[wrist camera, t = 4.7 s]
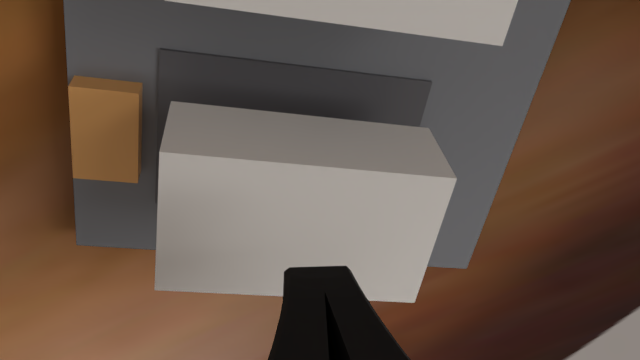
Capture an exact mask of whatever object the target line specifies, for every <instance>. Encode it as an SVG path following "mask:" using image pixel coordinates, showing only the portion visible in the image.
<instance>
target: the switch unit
mask: <svg viewBox="0 0 640 360" xmlns="http://www.w3.org/2000/svg"><path fill="white" fill-rule="evenodd" d="M570 1H571V0H518V2H517V5H516V8H515V11H514V14H513V17H512V20H511V23H510V26H509V29H508V31H507V34H506V37H505V40H504V43H503V46H498V45H490V44H483V43H475V42H468V41H460V40H453V39H446V38H438V37H431V36H423V35H416V34H409V33H401V32H394V31H386V30H379V29H371V28H364V27H357V26H349V25H342V24H334V23H327V22H320V21H312V20H305V19H297V18H290V17H282V16H275V15H268V14H260V13H253V12H245V11H238V10H231V9H223V8H216V7H208V6H201V5H193V4H186V3H179V2H171V1H165V0H63V2H64V21H65V39H66V58H67V76H68V95H69V113H70V132H71V150H72V169H73V187H74V206H75V224H76V243H77V245H84V246H100V247H117V248H133V249H150V250H156V235H157V206H158V177H159V151H160V147H161V142H162V138H163V134H164V129H165V125H166V120H167V116H168V112H169V107H170V103H171V101H176V102H186V103H195V104H205V105H214V106H224V107H233V108H243V109H252V110H262V111H271V112H281V113H290V114H300V115H309V116H319V117H328V118H338V119H347V120H357V121H366V122H376V123H385V124H395V125H404V126H414V127H423V128H429V129H430V131H431V133H432V135H433V136H434V138H435V140H436V142H437V144H438V145H439V147H440V149H441V151H442V153H443V154H444V156H445V158H446V160H447V162H448V163H449V165H450V167H451V169H452V170H453V172H454V174H455V176H456V178H457V180H456V183H455V186H454V189H453V192H452V195H451V198H450V201H449V204H448V206H447V209H446V212H445V215H444V218H443V221H442V224H441V227H440V230H439V233H438V236H437V239H436V241H435V244H434V247H433V250H432V253H431V256H430V259H429V262H428V265H427V266H430V267H447V268H463V269H467V266H468V263H469V261H470V258H471V256H472V253H473V251H474V248H475V245H476V243H477V240H478V238H479V235H480V233H481V230H482V227H483V225H484V222H485V220H486V217H487V215H488V212H489V209H490V207H491V204H492V202H493V199H494V197H495V194H496V191H497V189H498V186H499V184H500V181H501V179H502V176H503V173H504V171H505V168H506V166H507V163H508V161H509V158H510V155H511V153H512V150H513V148H514V145H515V143H516V140H517V137H518V135H519V132H520V130H521V127H522V125H523V122H524V119H525V117H526V114H527V112H528V109H529V107H530V104H531V101H532V99H533V96H534V94H535V91H536V89H537V86H538V83H539V81H540V78H541V76H542V73H543V71H544V68H545V65H546V63H547V60H548V58H549V55H550V53H551V50H552V47H553V45H554V42H555V40H556V37H557V35H558V32H559V29H560V27H561V24H562V22H563V19H564V17H565V14H566V11H567V9H568V6H569V4H570Z"/></svg>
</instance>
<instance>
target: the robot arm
mask: <svg viewBox="0 0 640 360" xmlns="http://www.w3.org/2000/svg"><path fill="white" fill-rule="evenodd" d="M268 360H410V358H409V357H408V356H407V355H406V353H405V352H404V351H403V350H402V348H401V347H400V346H399V344H398V343H397V342H396V340H395V339H394V337H393V336H392V335H391V333H390V332H389V331H388V329H387V328H386V326H385V325H384V324H383V322H382V321H381V319H380V318H379V316H378V315H377V313H376V312H375V310H374V309H373V307H372V306H371V304H370V302H369V301H368V299H367V298H366V296H365V295H364V293H363V291H362V290H361V288H360V286H359V284H358V283H357V281H356V279H355V277H354V275H353V274H352V272H351V270H350V269H349V268H348V267H347V266H318V267H289V268H288V269H287V270H285V271H284V283H283V304H282V309H281V314H280V319H279V323H278V326H277V330H276V334H275V338H274V342H273V345H272V349H271V352H270V354H269V357H268Z"/></svg>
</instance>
